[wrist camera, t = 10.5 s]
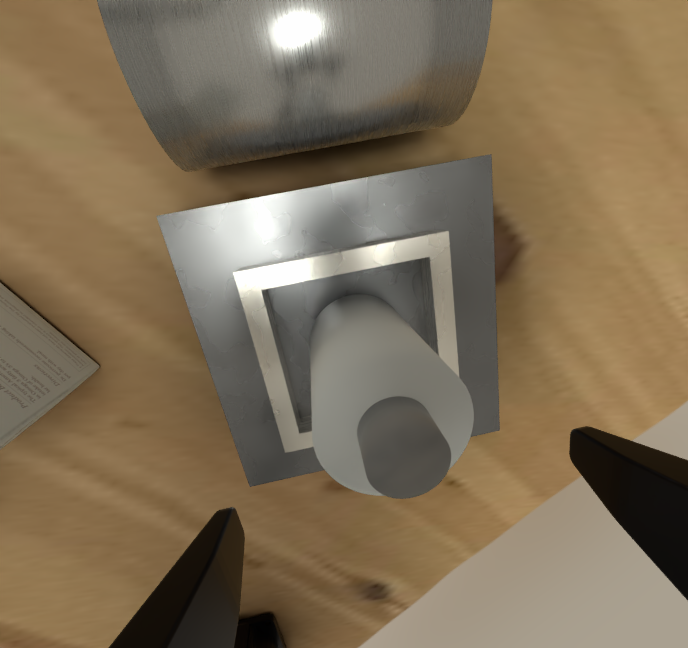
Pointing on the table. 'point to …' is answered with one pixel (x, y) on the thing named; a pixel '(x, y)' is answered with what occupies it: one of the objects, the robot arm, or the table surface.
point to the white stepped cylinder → (383, 401)
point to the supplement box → (33, 366)
